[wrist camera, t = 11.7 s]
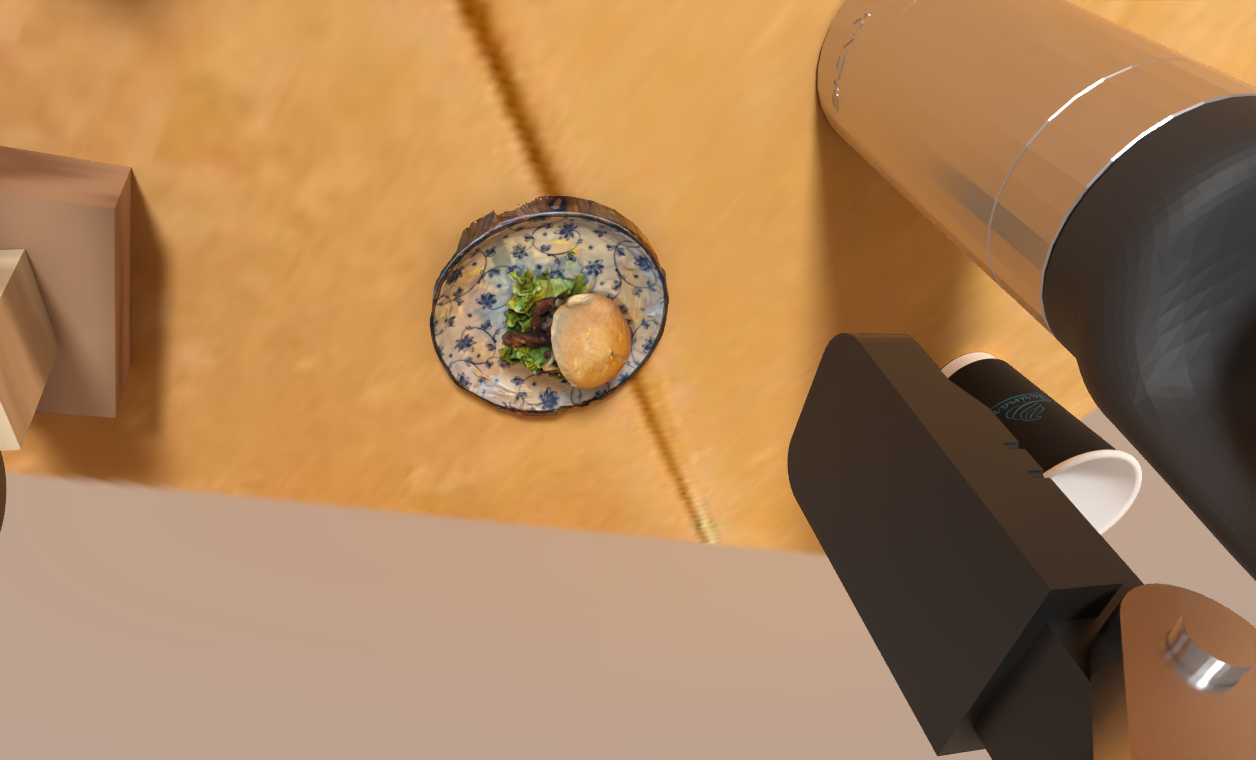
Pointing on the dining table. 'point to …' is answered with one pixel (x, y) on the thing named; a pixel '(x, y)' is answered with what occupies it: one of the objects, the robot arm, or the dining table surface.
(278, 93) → the dining table surface
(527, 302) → the burger
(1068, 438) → the dixie cup
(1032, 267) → the robot arm
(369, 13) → the dining table surface
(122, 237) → the walnut block
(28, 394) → the oak block
